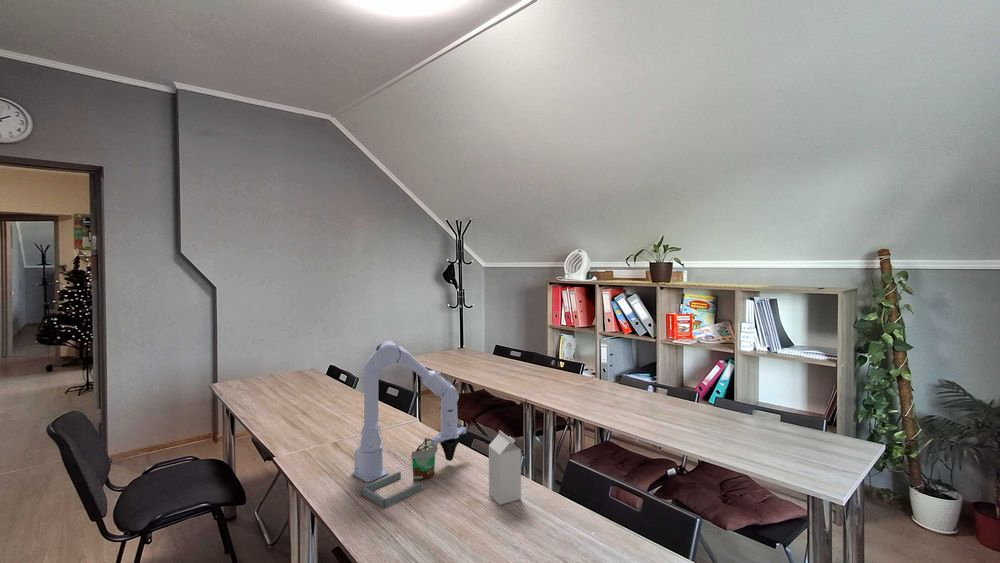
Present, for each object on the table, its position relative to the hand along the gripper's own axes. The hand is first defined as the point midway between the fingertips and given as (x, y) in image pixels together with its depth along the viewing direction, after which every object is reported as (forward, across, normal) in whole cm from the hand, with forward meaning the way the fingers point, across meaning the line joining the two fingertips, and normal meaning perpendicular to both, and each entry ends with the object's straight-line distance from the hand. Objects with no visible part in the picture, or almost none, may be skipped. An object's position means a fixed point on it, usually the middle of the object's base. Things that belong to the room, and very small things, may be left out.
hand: (449, 459), depth 156 cm
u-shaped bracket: (+2, -24, 0) cm, 24 cm away
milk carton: (+2, -4, -28) cm, 28 cm away
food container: (+2, -10, 0) cm, 10 cm away
